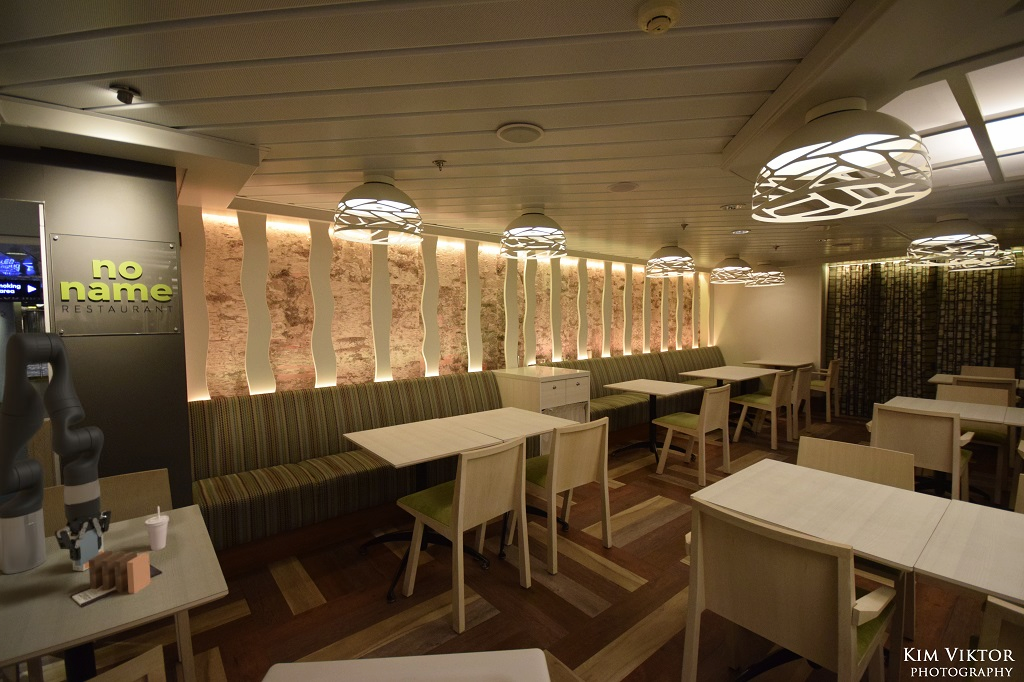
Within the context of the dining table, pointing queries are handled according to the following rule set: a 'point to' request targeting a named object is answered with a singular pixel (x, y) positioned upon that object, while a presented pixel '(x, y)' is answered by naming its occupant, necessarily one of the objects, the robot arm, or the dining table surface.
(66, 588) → the dining table surface
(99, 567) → the domino
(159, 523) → the smoothie
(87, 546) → the domino
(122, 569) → the domino
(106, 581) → the domino
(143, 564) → the domino end
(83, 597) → the chocolate bar
